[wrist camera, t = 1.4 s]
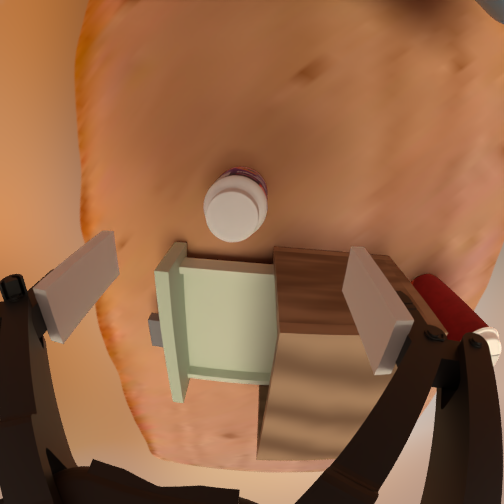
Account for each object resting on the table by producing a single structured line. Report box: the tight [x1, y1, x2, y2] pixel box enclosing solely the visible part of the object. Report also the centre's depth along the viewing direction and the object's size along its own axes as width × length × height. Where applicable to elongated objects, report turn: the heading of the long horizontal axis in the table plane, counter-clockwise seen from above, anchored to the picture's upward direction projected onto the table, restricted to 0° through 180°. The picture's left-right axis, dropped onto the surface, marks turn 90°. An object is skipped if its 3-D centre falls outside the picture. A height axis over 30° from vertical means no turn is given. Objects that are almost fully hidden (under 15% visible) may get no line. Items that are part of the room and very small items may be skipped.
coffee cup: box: [411, 274, 501, 367], centre depth 28 cm, size 8×8×15 cm
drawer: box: [148, 242, 277, 403], centre depth 34 cm, size 20×16×7 cm
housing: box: [256, 246, 448, 461], centre depth 30 cm, size 20×14×15 cm
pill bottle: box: [204, 167, 268, 242], centre depth 26 cm, size 5×5×10 cm
